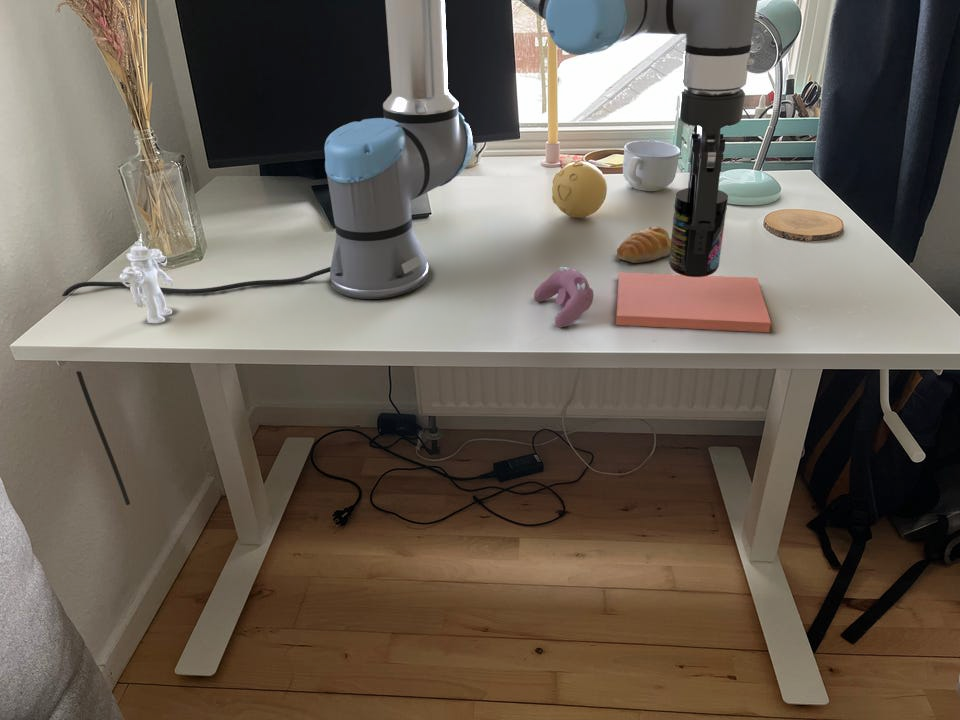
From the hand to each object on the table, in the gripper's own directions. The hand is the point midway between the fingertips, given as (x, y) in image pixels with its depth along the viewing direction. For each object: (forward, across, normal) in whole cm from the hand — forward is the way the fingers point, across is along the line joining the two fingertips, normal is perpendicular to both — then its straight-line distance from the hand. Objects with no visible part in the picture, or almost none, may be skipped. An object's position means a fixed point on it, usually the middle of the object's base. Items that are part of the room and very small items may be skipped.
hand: (694, 262), depth 104 cm
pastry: (+7, +18, +6) cm, 20 cm away
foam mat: (+7, 0, 0) cm, 7 cm away
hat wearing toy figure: (+7, -12, +76) cm, 77 cm away
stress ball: (+7, +34, +18) cm, 40 cm away
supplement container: (+1, 0, 0) cm, 1 cm away
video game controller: (+7, -4, +18) cm, 19 cm away
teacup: (+7, +50, +6) cm, 51 cm away
